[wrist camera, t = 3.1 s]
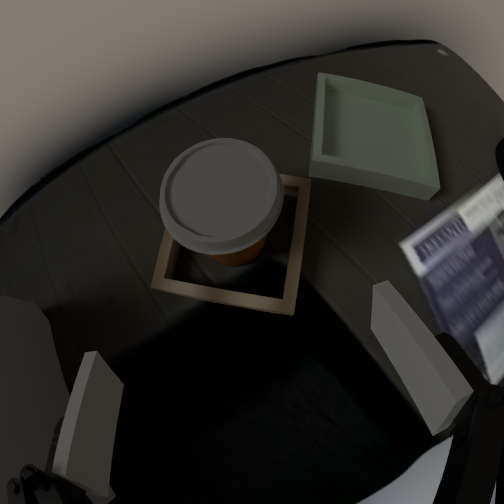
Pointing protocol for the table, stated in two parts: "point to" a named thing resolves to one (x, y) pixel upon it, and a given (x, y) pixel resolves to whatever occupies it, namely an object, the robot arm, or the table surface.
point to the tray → (372, 138)
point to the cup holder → (282, 306)
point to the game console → (29, 391)
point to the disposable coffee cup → (222, 200)
